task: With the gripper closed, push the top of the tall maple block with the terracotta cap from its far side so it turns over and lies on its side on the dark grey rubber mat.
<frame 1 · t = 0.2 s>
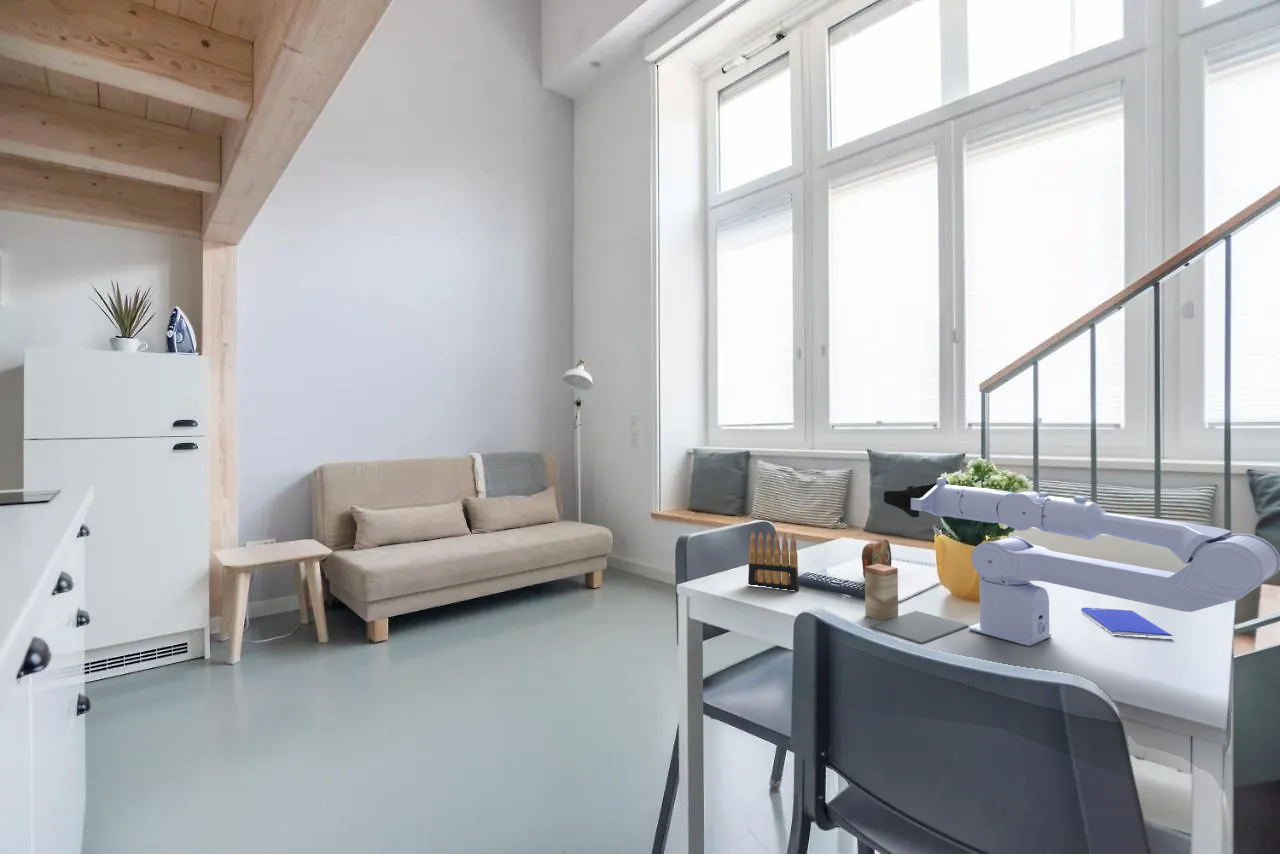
hand: (896, 494, 116), 21 cm above the table, tool horizontal, fingers open, 7 cm apart
block: (881, 616, 109), on the table
ammunition clip: (773, 589, 129), on the table
tin: (876, 579, 136), on the table
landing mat: (918, 626, 103), on the table
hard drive: (1123, 629, 102), on the table
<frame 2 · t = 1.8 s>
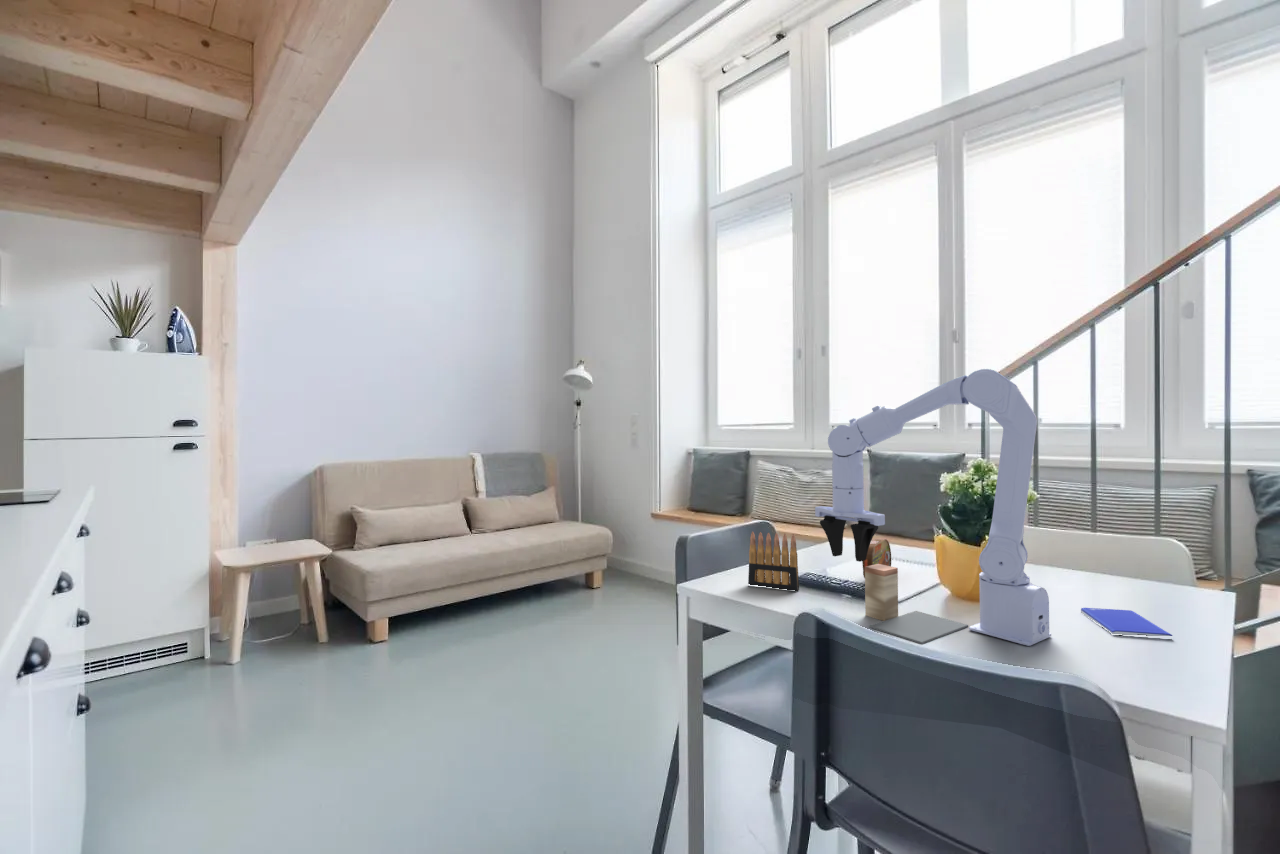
hand: (848, 558, 115), 9 cm above the table, tool pointing down, fingers open, 5 cm apart
nothing on the table moved.
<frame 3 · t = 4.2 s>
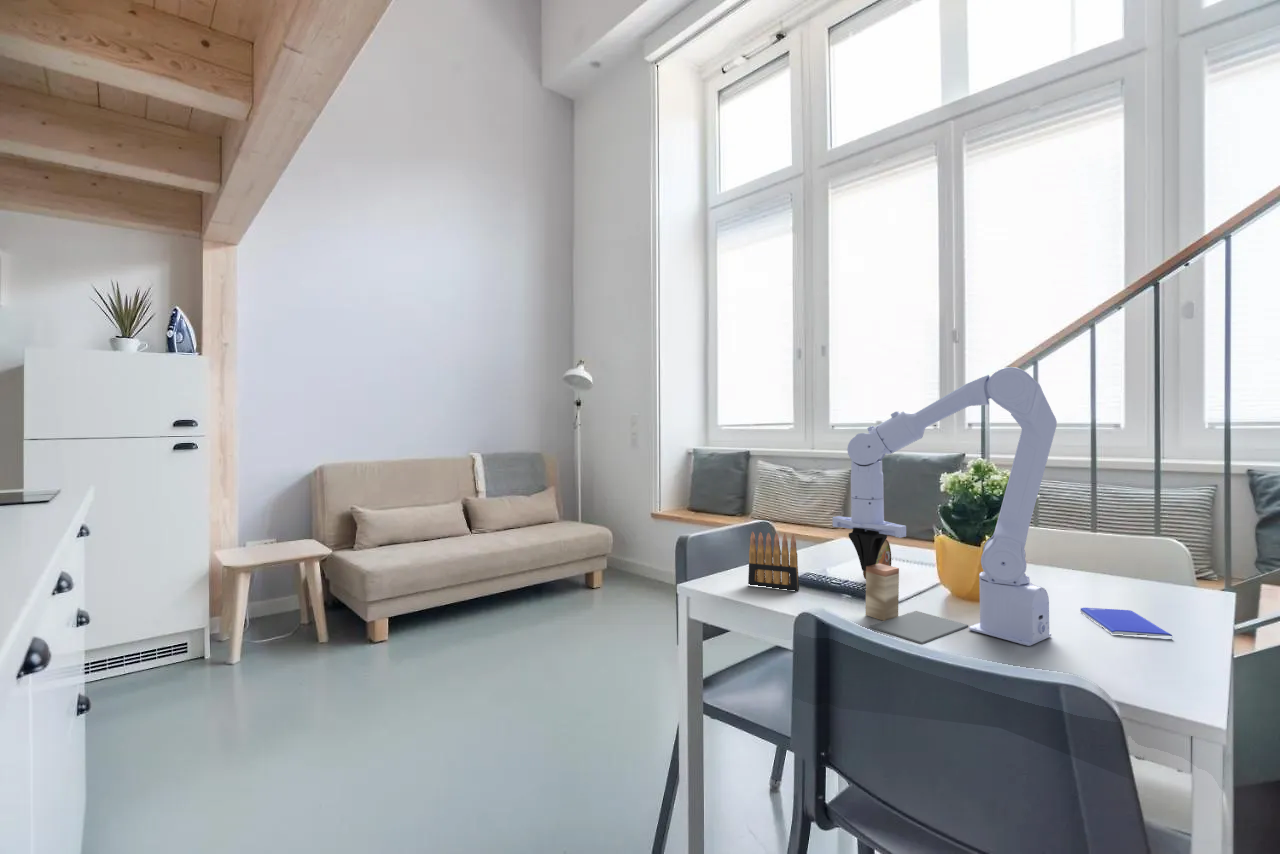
hand: (868, 570, 111), 8 cm above the table, tool pointing down, fingers closed
block: (881, 615, 109), on the table, touching gripper
everything else where it was.
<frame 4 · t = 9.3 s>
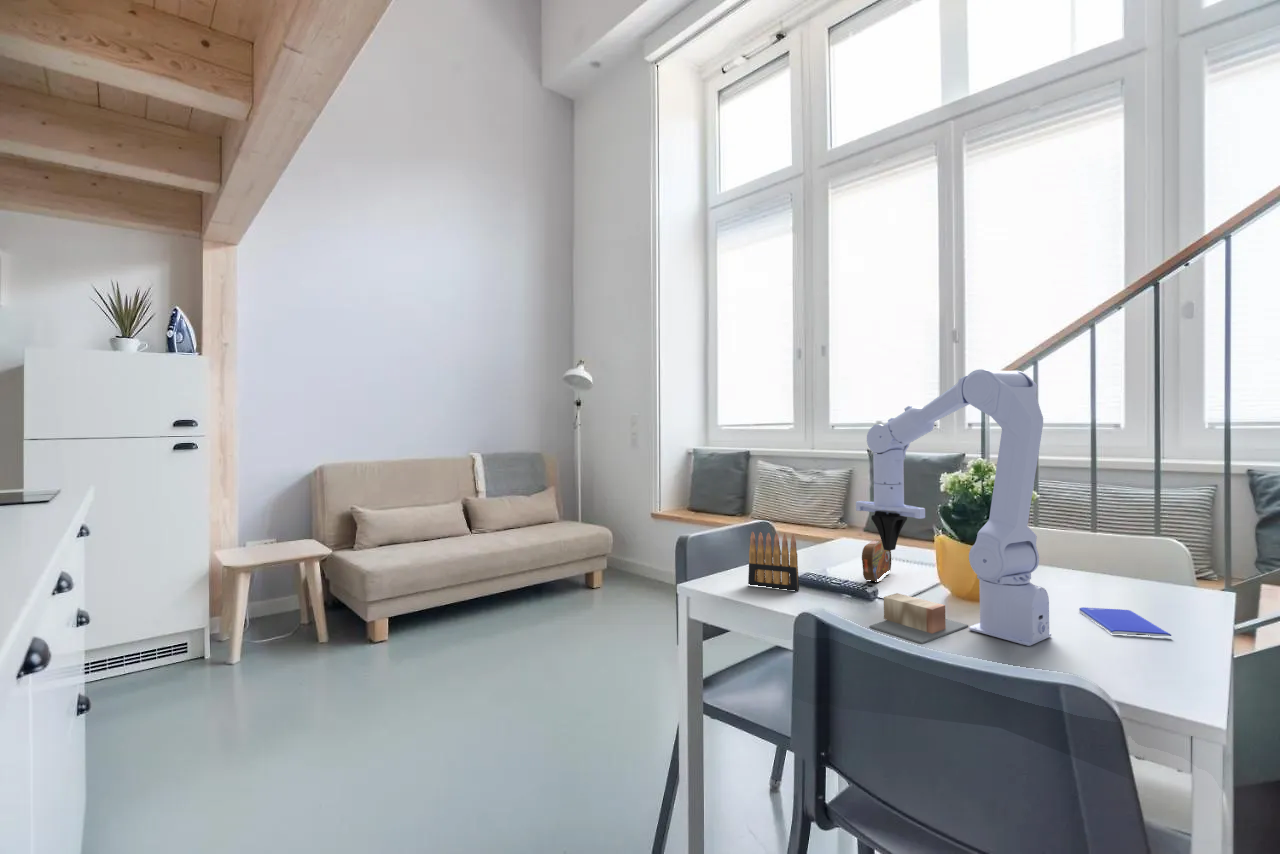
hand: (889, 549, 122), 9 cm above the table, tool pointing down, fingers closed
block: (890, 606, 107), point 2 cm above the table, tilted 90°, touching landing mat
everything else where it was.
at the end: block tilted 90°; block inside the target area (0.3 cm from its centre), point 2.3 cm above the table; block touching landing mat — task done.
